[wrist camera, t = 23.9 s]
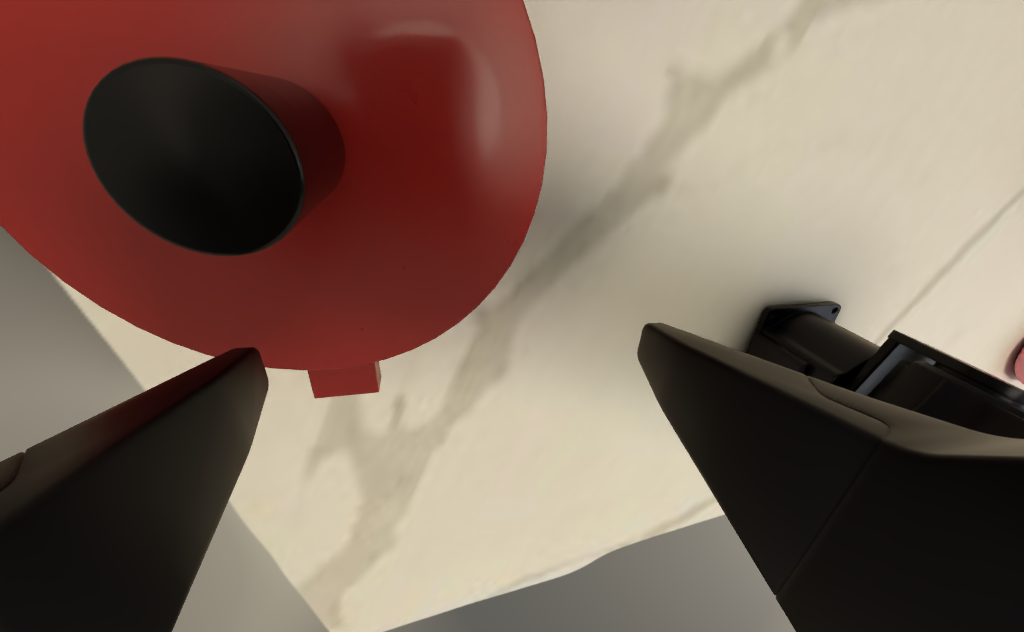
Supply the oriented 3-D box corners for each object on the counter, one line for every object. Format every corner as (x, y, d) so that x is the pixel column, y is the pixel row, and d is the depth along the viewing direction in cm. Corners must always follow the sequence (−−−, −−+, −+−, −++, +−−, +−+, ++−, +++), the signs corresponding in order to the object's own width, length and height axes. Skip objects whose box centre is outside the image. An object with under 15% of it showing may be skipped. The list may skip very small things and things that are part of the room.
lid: (559, -185, 9) (709, -498, 4) (524, 338, 15) (567, 435, 11) (-297, -363, 6) (-2637, -1894, 1) (110, 368, 13) (-67, 517, 8)
